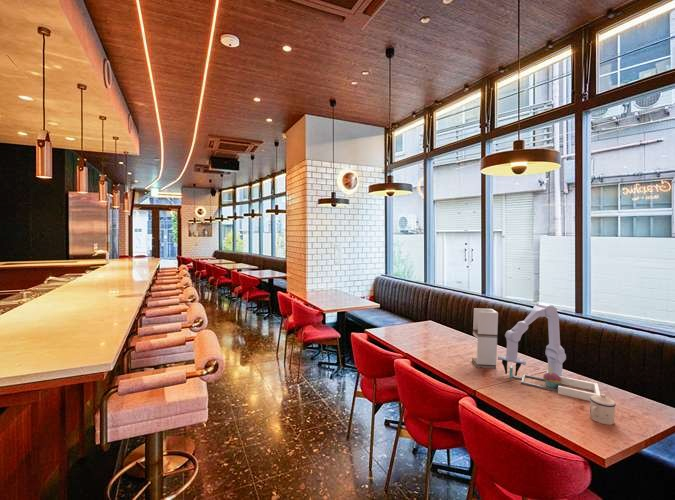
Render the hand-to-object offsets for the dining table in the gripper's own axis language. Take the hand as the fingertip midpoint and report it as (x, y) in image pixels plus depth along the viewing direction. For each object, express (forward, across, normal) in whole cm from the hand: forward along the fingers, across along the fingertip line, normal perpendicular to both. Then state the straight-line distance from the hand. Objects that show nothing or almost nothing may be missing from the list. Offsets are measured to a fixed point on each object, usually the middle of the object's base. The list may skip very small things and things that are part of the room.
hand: (511, 374), depth 197 cm
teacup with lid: (+2, +39, -28) cm, 48 cm away
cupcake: (+2, +20, +1) cm, 20 cm away
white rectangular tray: (+2, +31, 0) cm, 31 cm away
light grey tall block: (+2, -17, +12) cm, 21 cm away
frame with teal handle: (+2, +12, 0) cm, 12 cm away
